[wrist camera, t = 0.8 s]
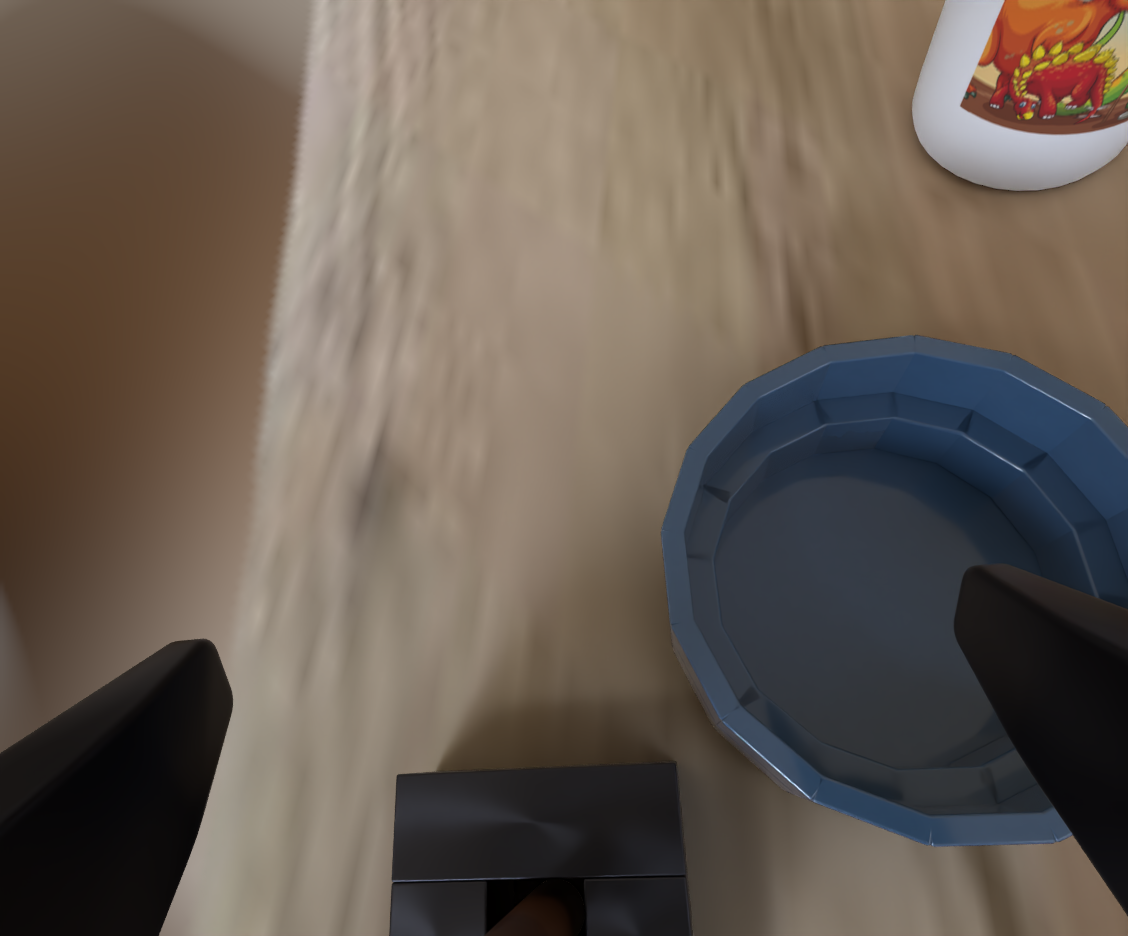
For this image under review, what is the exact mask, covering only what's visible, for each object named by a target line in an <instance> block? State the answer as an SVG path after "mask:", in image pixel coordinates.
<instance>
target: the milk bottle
mask: <svg viewBox="0 0 1128 936" xmlns="http://www.w3.org/2000/svg"><path fill="white" fill-rule="evenodd" d="M912 116H913V122H914V128H915V131H916V133H917V135H918V138H919V141H920V143H921V144H922V146H923V147H924V148H925V150H926V151H927V153H928V154H929V155H930V156H931V157H932V158H933V159H934V160H935V161H937V162H938V163H939V164H940V165H941V166H942V167H944V168H945V169H947V170H949V171H950V172H952V173H953V174H955V175H956V176H959V177H961V178H964V179H966V180H969V181H971V182H973V183H975V184H980V185H984V186H988V187H991V188H995V189H1005V190H1013V191H1026V190H1043V189H1048V188H1054V187H1060V186H1063V185H1066V184H1068V183H1071V182H1075V181H1078V180H1080V179H1082V178H1083V177H1085V176H1087V175H1089V174H1091V173H1093V172H1095V171H1096V170H1098V169H1100V168H1101V167H1103V166H1105V165H1106V164H1107V163H1109V162H1110V161H1111V160H1113V159H1114V158H1115V157H1116V156H1117V155H1118V154H1119V153H1120V152H1121V151H1122V149H1123V148H1124V147H1125V146H1126V145H1127V143H1128V0H946V1H945V4H944V6H943V9H942V12H941V15H940V18H939V21H938V24H937V26H936V29H935V32H934V35H933V38H932V41H931V44H930V47H929V50H928V53H927V55H926V58H925V61H924V64H923V67H922V70H921V73H920V76H919V80H918V83H917V86H916V89H915V93H914V96H913V101H912Z"/></svg>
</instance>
